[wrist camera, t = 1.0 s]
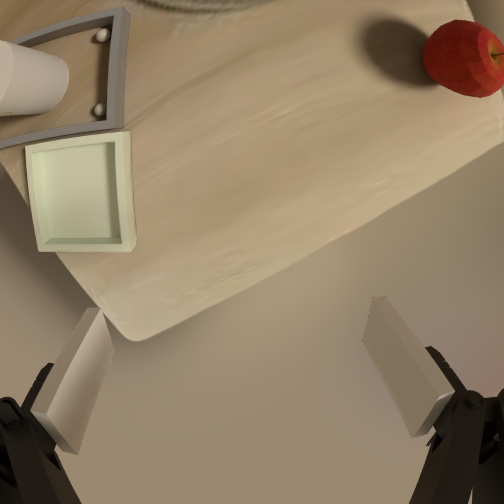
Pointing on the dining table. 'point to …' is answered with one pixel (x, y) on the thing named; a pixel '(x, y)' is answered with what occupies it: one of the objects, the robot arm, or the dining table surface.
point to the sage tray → (82, 193)
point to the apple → (465, 58)
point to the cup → (30, 80)
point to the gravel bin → (115, 72)
